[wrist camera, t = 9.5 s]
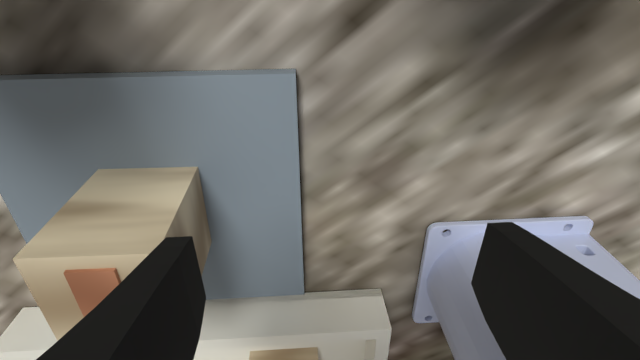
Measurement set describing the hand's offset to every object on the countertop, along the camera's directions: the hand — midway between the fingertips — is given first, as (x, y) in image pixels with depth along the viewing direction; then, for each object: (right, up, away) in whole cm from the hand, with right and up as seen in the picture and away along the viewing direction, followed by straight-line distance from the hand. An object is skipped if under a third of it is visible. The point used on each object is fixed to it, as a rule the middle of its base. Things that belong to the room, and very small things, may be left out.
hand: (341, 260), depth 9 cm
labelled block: (-8, +1, +9) cm, 12 cm away
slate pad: (-9, +1, +10) cm, 13 cm away
